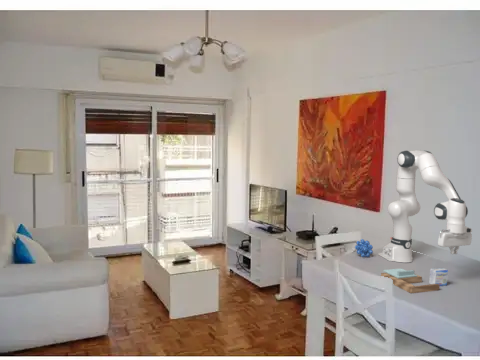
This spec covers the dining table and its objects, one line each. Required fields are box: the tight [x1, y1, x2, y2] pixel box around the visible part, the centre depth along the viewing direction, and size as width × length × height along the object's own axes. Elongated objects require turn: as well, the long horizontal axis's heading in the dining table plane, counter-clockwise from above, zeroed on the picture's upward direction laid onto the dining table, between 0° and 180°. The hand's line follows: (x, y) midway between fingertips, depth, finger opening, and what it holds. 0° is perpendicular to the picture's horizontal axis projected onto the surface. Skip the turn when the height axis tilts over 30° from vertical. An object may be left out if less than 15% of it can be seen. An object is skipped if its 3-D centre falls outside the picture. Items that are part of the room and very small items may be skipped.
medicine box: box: [428, 267, 449, 287], centre depth 237 cm, size 8×4×9 cm, turn 105°
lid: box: [383, 268, 418, 278], centre depth 244 cm, size 12×12×3 cm
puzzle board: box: [380, 272, 441, 294], centre depth 237 cm, size 24×18×3 cm
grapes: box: [354, 238, 374, 258], centre depth 286 cm, size 12×7×12 cm, turn 86°
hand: (453, 253), depth 239 cm, fingers closed
